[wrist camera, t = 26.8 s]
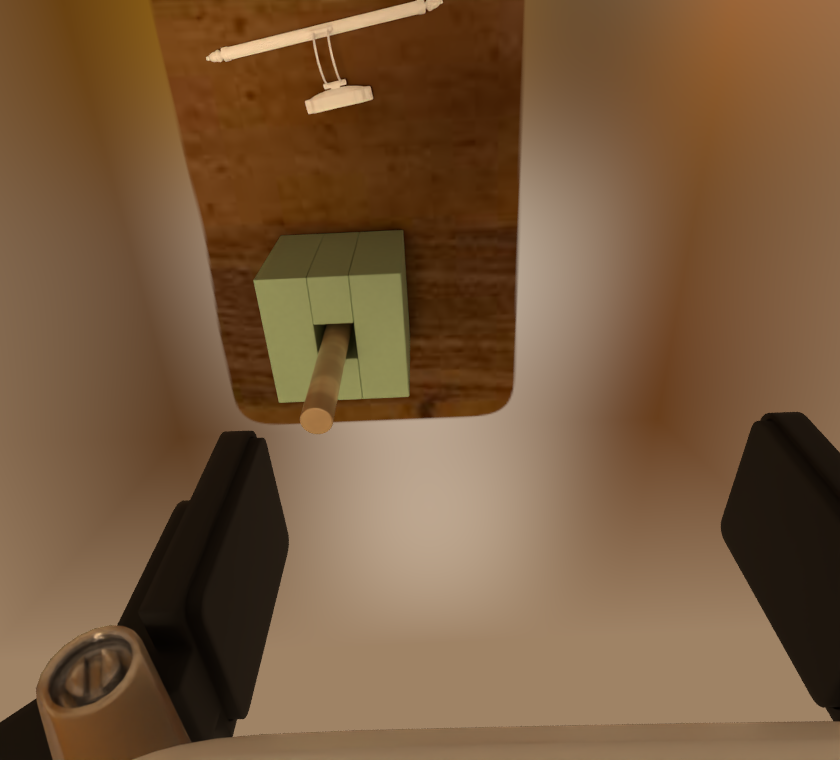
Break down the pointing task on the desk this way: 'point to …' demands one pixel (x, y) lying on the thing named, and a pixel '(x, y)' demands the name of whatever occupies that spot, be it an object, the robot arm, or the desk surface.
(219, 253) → the desk surface
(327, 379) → the stick
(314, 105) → the picture light
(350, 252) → the stand
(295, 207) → the desk surface
